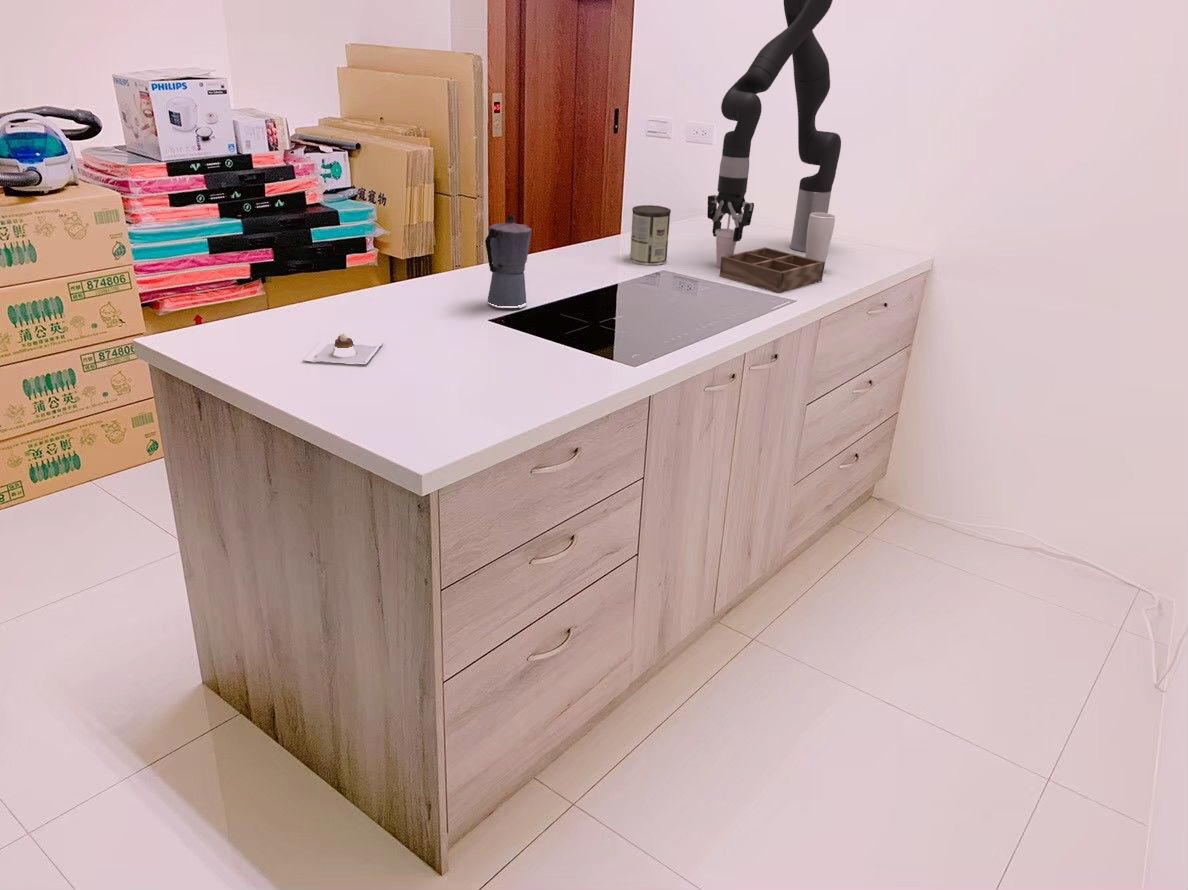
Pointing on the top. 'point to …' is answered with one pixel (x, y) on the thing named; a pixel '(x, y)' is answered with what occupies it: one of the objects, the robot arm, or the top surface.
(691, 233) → the top surface
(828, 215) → the drinking glass
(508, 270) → the moka pot
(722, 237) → the smoothie
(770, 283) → the bottle crate
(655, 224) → the coffee can
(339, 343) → the dessert
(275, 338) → the top surface
